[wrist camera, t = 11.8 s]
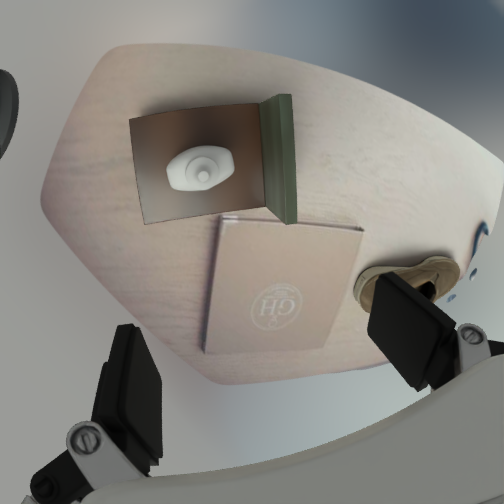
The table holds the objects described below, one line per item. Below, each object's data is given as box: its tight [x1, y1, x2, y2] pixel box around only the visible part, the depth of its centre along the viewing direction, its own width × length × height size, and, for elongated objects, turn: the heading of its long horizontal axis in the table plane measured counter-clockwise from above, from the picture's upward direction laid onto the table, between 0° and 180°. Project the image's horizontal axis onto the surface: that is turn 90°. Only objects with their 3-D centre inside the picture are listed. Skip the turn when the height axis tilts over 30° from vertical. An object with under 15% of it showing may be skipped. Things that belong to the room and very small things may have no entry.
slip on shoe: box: [354, 256, 460, 313], centre depth 45 cm, size 30×11×9 cm, turn 84°
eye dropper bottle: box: [166, 146, 235, 191], centre depth 22 cm, size 4×6×12 cm
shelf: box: [129, 94, 297, 225], centre depth 27 cm, size 15×12×12 cm
